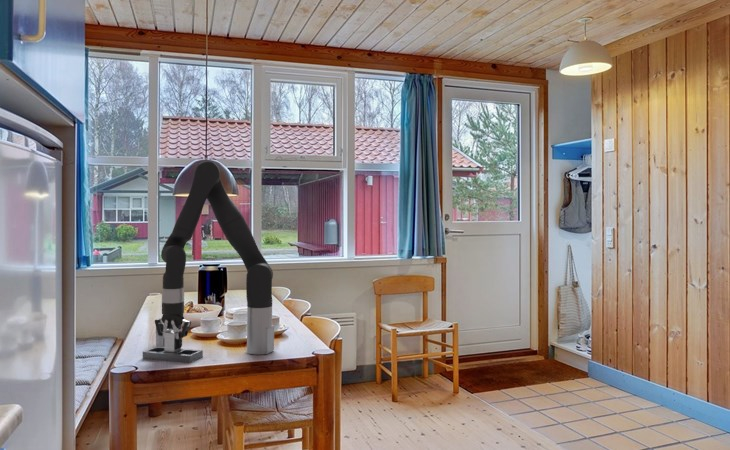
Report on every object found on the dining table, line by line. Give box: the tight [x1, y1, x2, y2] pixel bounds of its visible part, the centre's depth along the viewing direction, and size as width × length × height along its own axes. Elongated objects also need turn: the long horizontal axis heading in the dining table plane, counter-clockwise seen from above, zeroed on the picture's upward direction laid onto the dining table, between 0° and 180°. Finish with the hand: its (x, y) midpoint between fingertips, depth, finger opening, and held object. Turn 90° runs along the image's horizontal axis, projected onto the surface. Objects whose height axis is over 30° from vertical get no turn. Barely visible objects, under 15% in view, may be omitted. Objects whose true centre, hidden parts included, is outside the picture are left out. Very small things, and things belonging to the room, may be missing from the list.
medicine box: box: [155, 323, 173, 347], centre depth 203 cm, size 8×4×9 cm, turn 168°
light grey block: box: [164, 331, 182, 353], centre depth 184 cm, size 4×4×7 cm
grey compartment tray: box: [142, 346, 204, 364], centre depth 184 cm, size 19×8×2 cm, turn 76°
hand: (172, 348), depth 184 cm, fingers closed on light grey block, 4 cm apart
